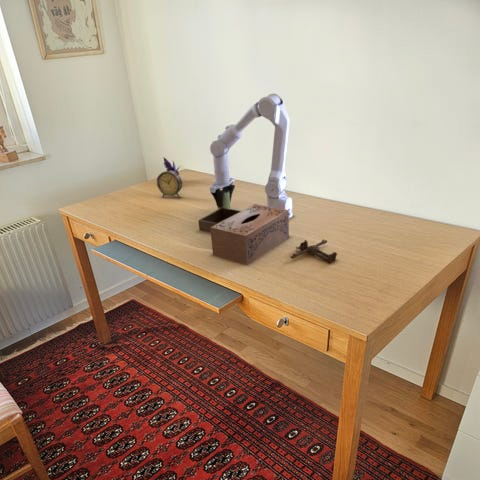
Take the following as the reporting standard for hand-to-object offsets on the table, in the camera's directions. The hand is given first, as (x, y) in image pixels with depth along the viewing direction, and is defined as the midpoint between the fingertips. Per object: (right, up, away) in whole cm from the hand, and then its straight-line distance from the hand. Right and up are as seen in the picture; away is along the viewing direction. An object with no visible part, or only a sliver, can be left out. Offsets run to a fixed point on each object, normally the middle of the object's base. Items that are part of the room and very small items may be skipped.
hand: (224, 205), depth 183 cm
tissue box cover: (+11, -22, -27) cm, 36 cm away
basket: (+1, -12, -12) cm, 17 cm away
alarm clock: (-25, +10, +24) cm, 36 cm away
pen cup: (0, -2, +1) cm, 2 cm away
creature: (-29, +22, +43) cm, 56 cm away
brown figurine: (+32, -26, -36) cm, 55 cm away
